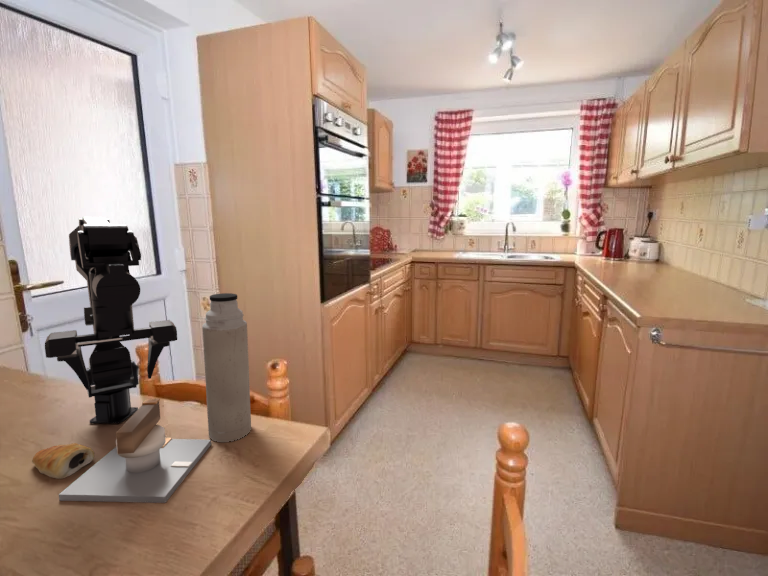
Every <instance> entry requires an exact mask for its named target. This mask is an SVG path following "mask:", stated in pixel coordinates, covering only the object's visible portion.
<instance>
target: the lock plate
mask: <svg viewBox="0 0 768 576" xmlns="http://www.w3.org/2000/svg"><path fill="white" fill-rule="evenodd" d="M165 440H166V442H165V444H164V445H163V447H161V448H160V449H159V450H157V451H155V452H153V453H151V454H148V455H145V456H142V457H136V458H124V457H121V456H119V455H118V454H117V446H114V448H113V449H111V450H110V451H109V452H108V453H107V454H106V455H104V456H103V457H102V458H101V459H99V460H98V461H97V462H95V464H93V465H92V466H91V467H90V468H88V469H87V470H86V471H85V472H84V473H83V474H81V475H80V476H79V477H78V478H77V479H75V480H74V481H73V482H72V483H70V484H69V485H68V486H67V487H66V488H65V489H63V490H62V491H60V492H59V493H58V499H59V500H58V501H65V502H66V501H68V502H106V503H107V502H112V503H113V502H117V503H155V504H156V503H163V504H165V503H167V502H168V500H169V499H170V498H171V497H172V495H173V494H174V493H175V491H176V490H178V487H179V486H181V484H182V483H183V481H184V480H185V478H186V477H187V476H188V475H189V474H190V472H191V471H192V470H193V469H194V467H196V465H197V463H198V462H199V461H200V460H201V458H202V457H203V456H204V454H205V453H206V452H207V451H208V449H210V447H211V446H212V440H211V439H201V438H200V439H197V438H195V439H192V438H172V437H165Z"/></svg>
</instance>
